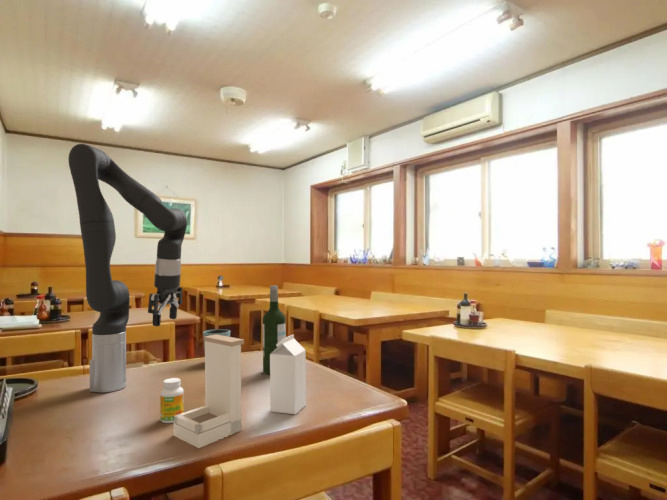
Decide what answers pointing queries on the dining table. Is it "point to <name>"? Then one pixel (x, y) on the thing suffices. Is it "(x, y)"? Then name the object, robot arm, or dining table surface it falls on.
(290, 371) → the milk carton
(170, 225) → the robot arm
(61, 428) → the dining table surface
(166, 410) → the supplement bottle
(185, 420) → the white feeder tower
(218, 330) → the drinking glass
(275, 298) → the wine bottle
